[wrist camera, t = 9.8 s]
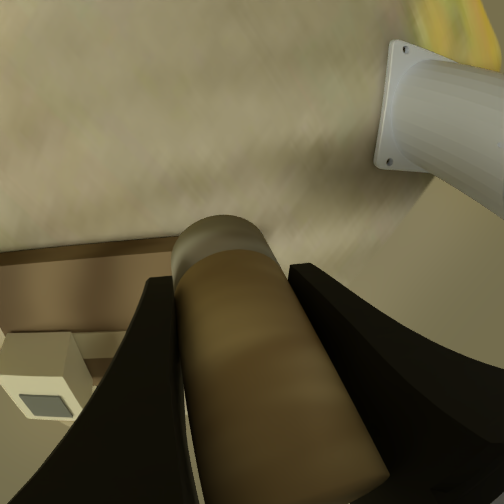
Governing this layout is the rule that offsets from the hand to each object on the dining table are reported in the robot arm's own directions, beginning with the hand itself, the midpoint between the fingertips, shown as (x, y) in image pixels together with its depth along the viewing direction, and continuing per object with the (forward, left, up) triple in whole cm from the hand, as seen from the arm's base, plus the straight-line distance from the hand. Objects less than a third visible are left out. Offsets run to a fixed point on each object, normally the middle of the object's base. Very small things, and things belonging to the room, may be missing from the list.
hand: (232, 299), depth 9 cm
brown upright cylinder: (0, 0, -2) cm, 2 cm away
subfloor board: (+6, +8, -9) cm, 14 cm away
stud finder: (+11, +10, -7) cm, 17 cm away
